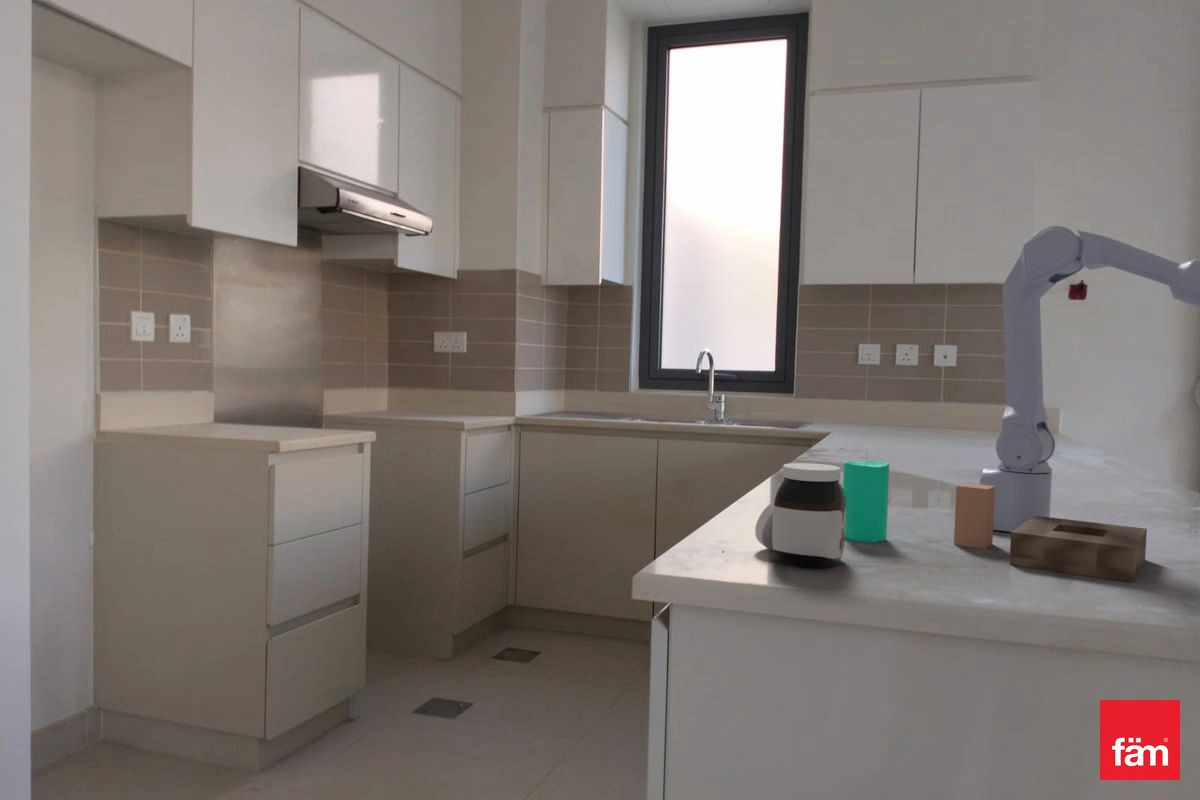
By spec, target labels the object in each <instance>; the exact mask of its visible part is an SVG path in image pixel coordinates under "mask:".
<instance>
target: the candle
mask: <svg viewBox="0 0 1200 800" xmlns="http://www.w3.org/2000/svg"><path fill="white" fill-rule="evenodd" d="M889 475H890V462H885V461H880V460H868V451H866V452H865V460H863V461H859V462H858V461H857V462H855V461H851V460H847V461H845V462H844V464H843V479H842V481H843V482H842V484H843V485H842V488H843V490H844V493H845V497H846V527H845V538H846V539H845V540H849V539H850V541H853V540H855V541H854V542H861V541H862V542H861V543H878V542H877V541H882V542H884V541H883V540H885V539H886V540H887V530H888V508H889V503H888V502H889V482H890V481H889V480H890V479H889V478H890V476H889ZM886 540H885V541H886ZM863 541H864V542H863Z"/></svg>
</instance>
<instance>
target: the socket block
mask: <svg viewBox="0 0 1200 800" xmlns="http://www.w3.org/2000/svg"><path fill="white" fill-rule="evenodd" d="M1147 531H1148V530H1147V528H1145V527H1135V526H1127V525H1118V524H1111V523H1109V524H1108V523H1100V522H1094V521H1092V522H1091V521H1086V520H1085V521H1084V520H1075V519H1066V518H1058V517H1042V516H1034V517H1032V518H1031V519H1029V520H1028V521H1027V522H1025V523H1024V524H1022V525H1021V526H1019V527H1018V528H1016V529H1015V530H1013V531H1012V532H1010V544H1009V545H1010V546H1009V565H1013V566H1019V567H1025V568H1033V569H1039V570H1046V571H1053V572H1057V573H1058V572H1059V573H1066V574H1072V575H1079V576H1087V577H1094V578H1100V579H1107V580H1113V581H1119V582H1120V581H1121V582H1125V583H1133V582H1134V581H1135V579H1136V577H1137V576H1138V574H1139V572H1140V570H1141V569H1142V566H1143V565H1144V563H1145V560H1146V553H1147V535H1148V533H1147Z"/></svg>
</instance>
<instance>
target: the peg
mask: <svg viewBox="0 0 1200 800" xmlns="http://www.w3.org/2000/svg"><path fill="white" fill-rule="evenodd" d="M955 493H956V494H955V511H954V513H955V514H954V532H953V533H954V535H953V545H954V546H961V547H968V548H973V549H974V548H975V549H980V550H981V549H982V550H986V549H988V548H989V547H990V546H992V545H993V537H994V530H993V521H994V500H995V486H990V485H980V483H978V484H977V483H971V482H970V483H969V482H963V483H960V484H959V485H956V489H955Z"/></svg>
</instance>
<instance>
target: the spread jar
mask: <svg viewBox="0 0 1200 800" xmlns="http://www.w3.org/2000/svg"><path fill="white" fill-rule="evenodd" d="M841 470H842V469H841V467H839V466H838V465H837V466H836V465H831V464H824V463H823V464H822V463H809V462H808V463H805V462H803V463H802V462H801V463H798V462H795V463H794V462H793V463H792V462H791V463H785V464H783V465H782V475H783V476H782V478H783V477H784V478H783V480H782V482H780V484H781V485H780V484H779V485H780V486H779V485H778V486H779V488H778V487H777V489H778V490H776V494H775V496H774V501H772V502H770V503H769V504H768V505H767V506H766V507H765V508H764V509H763V510H762V512H761V513H760V515H759V516H758V518H757V519H758V520H757V521H756V525H755V530H754V531H755V533H754V534H755V537H756V540H757V542H759V544H761V545H762V546H764V547H765V548H766V549H768V550H771V551H773V554H774V556H775V557H776V558H777V560H779V561H780V562H781V563H784V564H786V565H789V566H794V567H800V568H806V569H826V568H832V567H833V568H834V567H835V566H837V565H839V563H840V562H841V559H842V558H843V553H844V549H845V543H846V539H845V527H846V497H845V493H844V490H843V485H841V484H840V480H841Z"/></svg>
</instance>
